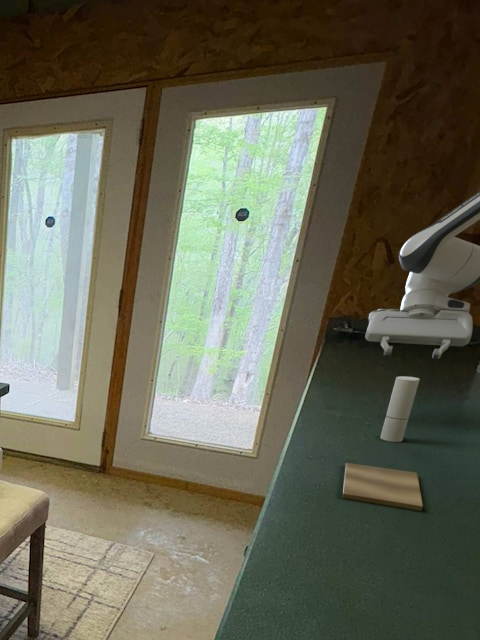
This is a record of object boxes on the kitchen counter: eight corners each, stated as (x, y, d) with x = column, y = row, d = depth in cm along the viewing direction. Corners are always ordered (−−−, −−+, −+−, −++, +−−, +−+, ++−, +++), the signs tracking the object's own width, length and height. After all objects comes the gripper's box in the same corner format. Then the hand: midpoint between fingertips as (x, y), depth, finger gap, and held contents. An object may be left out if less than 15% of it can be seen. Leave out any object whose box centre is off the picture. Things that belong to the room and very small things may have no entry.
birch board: (345, 467, 136) (346, 462, 136) (415, 477, 129) (417, 472, 129) (341, 498, 121) (343, 493, 121) (421, 511, 114) (423, 506, 114)
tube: (406, 442, 149) (423, 380, 144) (386, 441, 150) (402, 380, 145) (395, 436, 153) (412, 376, 148) (376, 436, 154) (392, 376, 149)
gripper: (372, 300, 161) (361, 344, 157) (479, 303, 149) (469, 351, 145) (368, 316, 166) (357, 359, 162) (472, 320, 154) (462, 366, 150)
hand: (411, 355), depth 154 cm, fingers open, 8 cm apart
